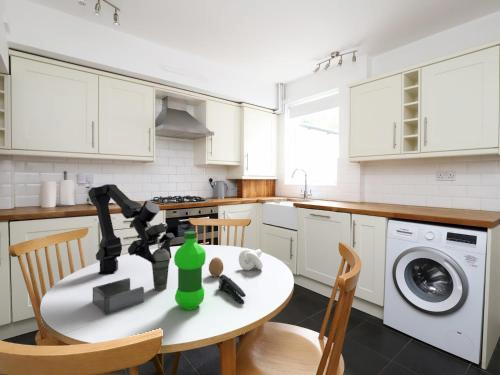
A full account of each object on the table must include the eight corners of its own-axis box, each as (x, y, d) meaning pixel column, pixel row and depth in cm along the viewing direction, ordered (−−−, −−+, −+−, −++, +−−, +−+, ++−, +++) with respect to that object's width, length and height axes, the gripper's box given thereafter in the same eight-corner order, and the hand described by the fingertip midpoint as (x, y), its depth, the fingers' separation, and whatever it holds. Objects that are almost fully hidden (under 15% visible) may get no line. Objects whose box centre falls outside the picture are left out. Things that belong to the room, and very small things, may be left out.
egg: (224, 273, 118) (224, 255, 118) (222, 279, 112) (222, 260, 111) (210, 273, 118) (210, 255, 118) (207, 278, 112) (207, 259, 112)
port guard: (128, 290, 98) (128, 277, 98) (143, 301, 90) (143, 287, 90) (92, 301, 89) (92, 287, 89) (105, 314, 81) (105, 299, 81)
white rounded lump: (246, 262, 134) (246, 245, 133) (268, 266, 128) (268, 248, 128) (236, 269, 124) (236, 250, 123) (259, 274, 118) (259, 254, 118)
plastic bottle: (199, 315, 82) (200, 236, 81) (168, 311, 84) (168, 234, 83) (209, 300, 92) (210, 230, 91) (181, 297, 93) (182, 228, 93)
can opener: (214, 287, 103) (214, 273, 103) (230, 284, 106) (230, 270, 106) (233, 307, 88) (234, 290, 87) (251, 302, 91) (252, 286, 91)
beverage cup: (164, 293, 97) (164, 240, 96) (146, 291, 98) (146, 238, 98) (173, 285, 104) (173, 235, 103) (157, 283, 105) (157, 234, 105)
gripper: (132, 219, 94) (153, 254, 89) (171, 213, 110) (191, 243, 105) (119, 238, 98) (138, 272, 93) (158, 230, 114) (176, 259, 109)
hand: (163, 260), depth 100 cm, fingers closed on beverage cup, 7 cm apart
